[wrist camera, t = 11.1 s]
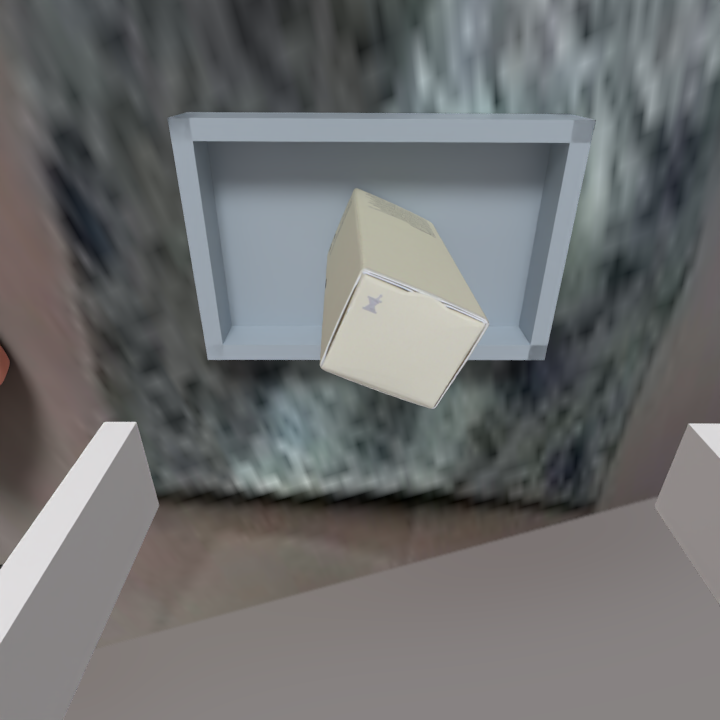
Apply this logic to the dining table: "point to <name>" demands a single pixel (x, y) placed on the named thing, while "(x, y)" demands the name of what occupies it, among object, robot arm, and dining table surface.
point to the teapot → (3, 364)
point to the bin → (387, 181)
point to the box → (396, 304)
